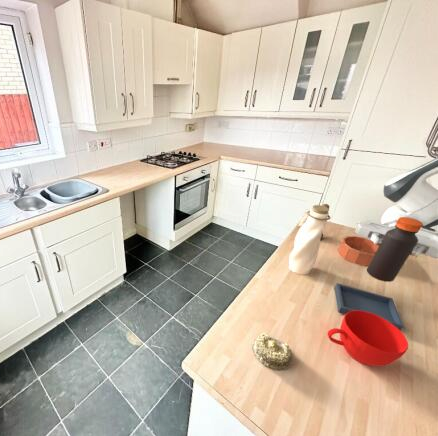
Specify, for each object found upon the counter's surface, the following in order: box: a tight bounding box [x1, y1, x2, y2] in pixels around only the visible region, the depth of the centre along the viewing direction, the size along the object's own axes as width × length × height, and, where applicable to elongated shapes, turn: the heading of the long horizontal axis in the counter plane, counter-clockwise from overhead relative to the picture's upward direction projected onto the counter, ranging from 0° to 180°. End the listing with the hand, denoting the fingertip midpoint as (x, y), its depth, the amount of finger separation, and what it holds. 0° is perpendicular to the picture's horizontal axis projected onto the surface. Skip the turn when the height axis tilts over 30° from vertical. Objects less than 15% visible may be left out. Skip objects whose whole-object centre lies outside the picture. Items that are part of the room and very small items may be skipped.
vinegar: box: [366, 217, 423, 283], centre depth 73 cm, size 7×7×20 cm
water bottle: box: [288, 204, 331, 276], centre depth 94 cm, size 10×9×28 cm
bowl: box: [337, 235, 379, 267], centre depth 105 cm, size 14×14×6 cm
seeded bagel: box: [252, 332, 292, 371], centre depth 68 cm, size 10×10×5 cm
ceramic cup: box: [327, 310, 409, 367], centre depth 66 cm, size 13×17×10 cm
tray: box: [334, 282, 405, 332], centre depth 81 cm, size 16×13×3 cm
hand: (395, 248), depth 72 cm, fingers closed on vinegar, 6 cm apart
